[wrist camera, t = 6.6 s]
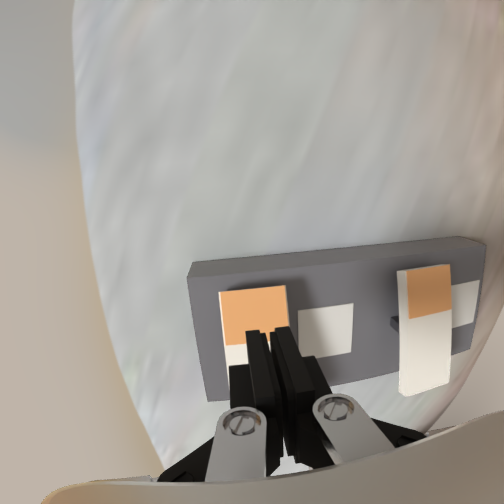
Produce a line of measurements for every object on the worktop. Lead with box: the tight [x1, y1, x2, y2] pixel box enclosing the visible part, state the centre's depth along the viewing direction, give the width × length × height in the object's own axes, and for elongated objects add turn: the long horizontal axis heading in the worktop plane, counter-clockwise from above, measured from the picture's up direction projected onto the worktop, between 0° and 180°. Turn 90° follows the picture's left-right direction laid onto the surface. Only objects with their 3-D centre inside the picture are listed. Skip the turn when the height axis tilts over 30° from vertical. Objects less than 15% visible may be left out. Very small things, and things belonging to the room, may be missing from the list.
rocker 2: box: [397, 264, 452, 397], centre depth 20 cm, size 9×4×1 cm, turn 4°
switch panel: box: [187, 236, 486, 402], centre depth 23 cm, size 10×24×6 cm, turn 94°
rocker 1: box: [218, 285, 290, 390], centre depth 19 cm, size 9×4×1 cm, turn 4°
